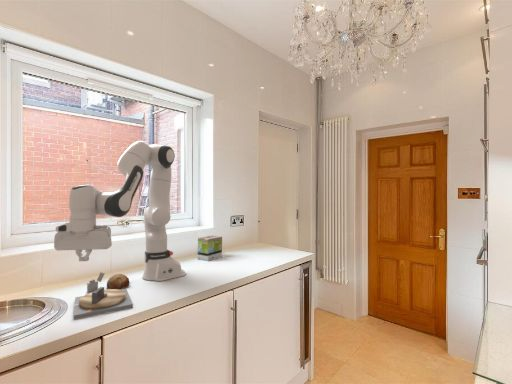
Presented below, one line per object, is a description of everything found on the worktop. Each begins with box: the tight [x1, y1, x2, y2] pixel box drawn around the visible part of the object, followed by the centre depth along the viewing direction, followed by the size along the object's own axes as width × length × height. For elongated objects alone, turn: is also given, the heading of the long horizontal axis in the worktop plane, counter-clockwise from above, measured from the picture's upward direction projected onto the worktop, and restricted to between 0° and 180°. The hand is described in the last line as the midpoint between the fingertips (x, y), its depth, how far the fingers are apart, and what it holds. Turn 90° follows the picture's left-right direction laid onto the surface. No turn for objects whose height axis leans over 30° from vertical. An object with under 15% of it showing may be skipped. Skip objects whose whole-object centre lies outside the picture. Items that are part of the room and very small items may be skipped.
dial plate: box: [73, 288, 134, 320], centre depth 117 cm, size 20×20×2 cm
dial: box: [79, 286, 126, 309], centre depth 116 cm, size 17×17×6 cm
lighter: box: [86, 271, 105, 294], centre depth 133 cm, size 7×2×8 cm, turn 137°
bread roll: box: [106, 273, 130, 290], centre depth 138 cm, size 10×10×8 cm
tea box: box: [196, 235, 223, 262], centre depth 195 cm, size 15×10×15 cm, turn 148°
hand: (84, 260), depth 110 cm, fingers closed
